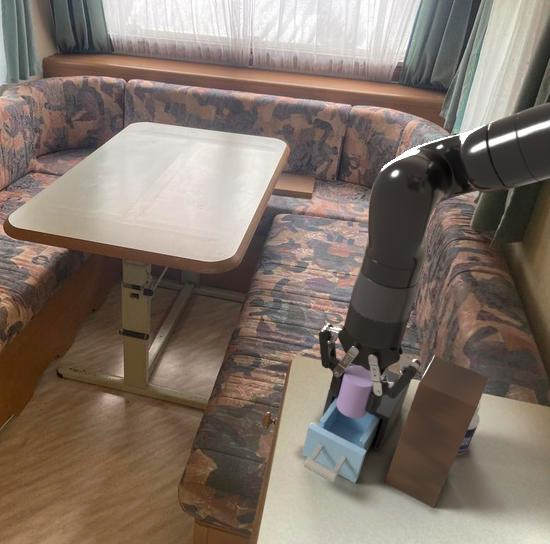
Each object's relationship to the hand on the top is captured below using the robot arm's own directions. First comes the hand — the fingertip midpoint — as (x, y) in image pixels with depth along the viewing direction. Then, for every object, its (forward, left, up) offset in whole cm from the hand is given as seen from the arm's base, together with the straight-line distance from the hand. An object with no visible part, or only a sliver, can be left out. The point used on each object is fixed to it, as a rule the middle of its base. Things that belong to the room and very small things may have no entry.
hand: (353, 400), depth 82 cm
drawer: (0, +2, -10) cm, 10 cm away
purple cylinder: (0, 0, -1) cm, 1 cm away
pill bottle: (-13, -12, -11) cm, 21 cm away
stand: (-11, -2, -11) cm, 16 cm away
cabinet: (0, -9, -11) cm, 14 cm away
